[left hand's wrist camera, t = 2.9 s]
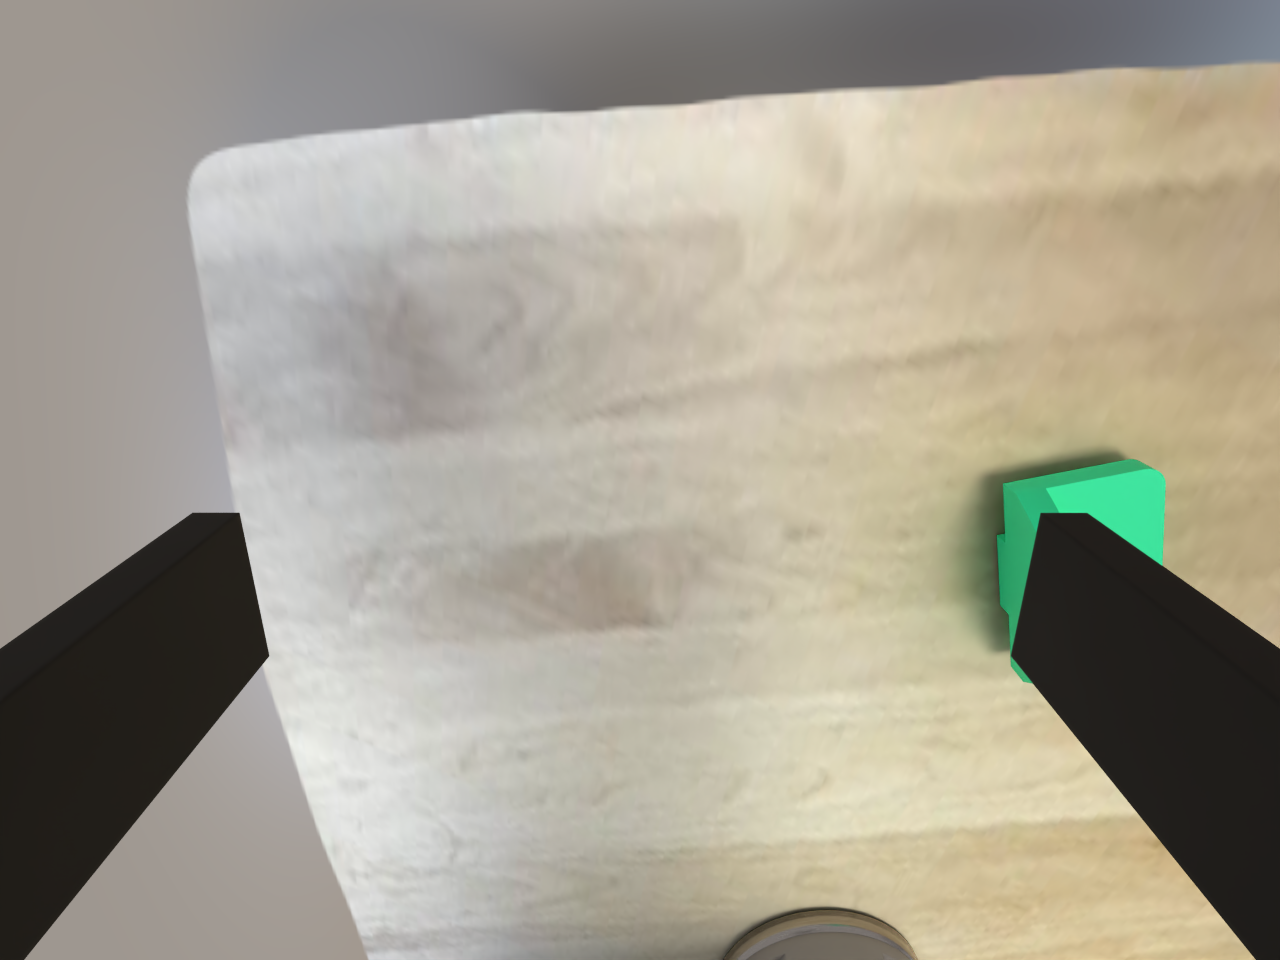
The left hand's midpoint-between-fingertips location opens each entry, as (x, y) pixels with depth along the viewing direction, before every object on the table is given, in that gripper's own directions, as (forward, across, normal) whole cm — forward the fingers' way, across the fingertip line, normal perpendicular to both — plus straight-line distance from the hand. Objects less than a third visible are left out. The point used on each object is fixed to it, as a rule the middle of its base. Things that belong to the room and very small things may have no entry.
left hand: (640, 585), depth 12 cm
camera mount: (+28, -25, +14) cm, 40 cm away
